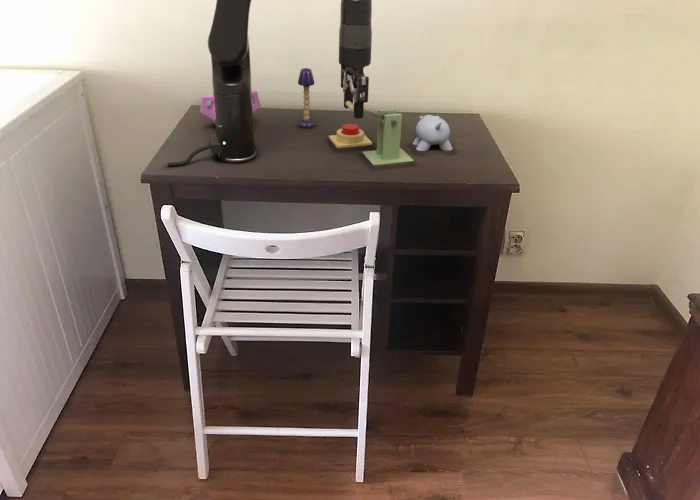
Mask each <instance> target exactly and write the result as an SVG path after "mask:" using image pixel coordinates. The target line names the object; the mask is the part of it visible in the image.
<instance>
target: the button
mask: <svg viewBox="0 0 700 500" xmlns="http://www.w3.org/2000/svg"><path fill="white" fill-rule="evenodd" d="M341 129H342V134H345V135H357V134H358V133H359V129H360V127H359V125H358V124H356V123H355V124H354V123H345V124H343V125H342V127H341Z"/></svg>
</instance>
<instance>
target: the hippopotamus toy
mask: <svg viewBox="0 0 700 500" xmlns="http://www.w3.org/2000/svg"><path fill="white" fill-rule="evenodd" d="M418 119H419V121H417V122H418V123H417V124H416V127H415V133H416V137H415V138H414V141H413V142H412V144H413V145H414V146H416V148H415V150H416V151H419V152H420V151H421V152H427V151H429V150H430V149H431V146H435V145H438V147H439V148H440V150H442V151H452V150H453V146H452V144H451V141H450V140H449V138H450V135H451V129H450V126H449V124H448V123H447V121H446V120H444V119H443V118H441V117H440V116H439V115H432V114H426V115H420V116H419V117H418Z"/></svg>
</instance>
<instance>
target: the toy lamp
mask: <svg viewBox="0 0 700 500" xmlns="http://www.w3.org/2000/svg"><path fill="white" fill-rule="evenodd" d="M314 78H315V77H314V75H313V71H312V69H311V68H307V67H306V68H305V67H304V68H301V69H300V71H299V74H298V79H297V84H298V85H299V86H302V87H303V91H302V93H303V119H302V120H301V121H300V122H299V127H300V128H301V129H312V128H314V127H315V124H314V121H313V120H311V119H310V108H311V107H310V102H311V101H310V99H311V98H310V97H311V96H310V87H313V86H314V85H315V79H314Z"/></svg>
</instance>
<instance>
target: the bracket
mask: <svg viewBox="0 0 700 500" xmlns="http://www.w3.org/2000/svg"><path fill="white" fill-rule="evenodd" d="M385 112H387V113H390V114H389V115H384V114H385ZM377 113H380V114H383V115H384V122H383V121H382V119H380V118H377V132H376V134H377V135H376V150H365V151H361V153H362V154H363V155H364V157H365V159H367V160H368V161H369V162H370V163H371V164H372V166H382V165H391V164H403V163H409V162H410V163H411V162H415V160H414V159H413V158H412V157H411V156H410V155H409V154H408V153H407V152H406V151H405V150H403V148H402V147H401V137H402V123H403V114H402V113H397V109H396V108H385V109H378V112H377Z"/></svg>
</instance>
